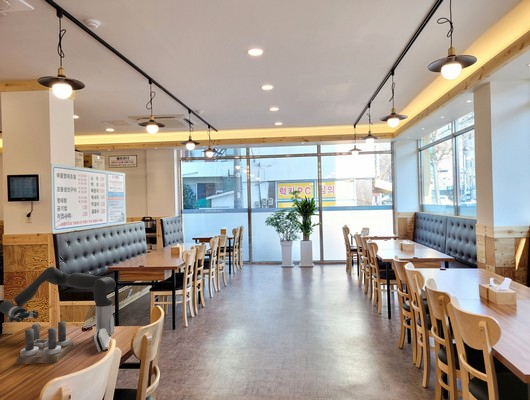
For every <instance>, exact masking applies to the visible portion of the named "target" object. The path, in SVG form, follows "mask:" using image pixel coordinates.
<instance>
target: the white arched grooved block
mask: <svg viewBox="0 0 530 400" xmlns="http://www.w3.org/2000/svg"><path fill="white" fill-rule="evenodd" d="M111 339H113V338H112V337H111V336H110V335H108V333H107V331H106V329H105V328H103V329H101V330H98V331H97V332H96V331H95V333H94V335H93V340H94V343H95V346H96V349H97V351H98V352H99V353H101V352H102V350H103V351H105V350H107V349H108V347H109V342H110V340H111Z"/></svg>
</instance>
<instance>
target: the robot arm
mask: <svg viewBox="0 0 530 400" xmlns="http://www.w3.org/2000/svg"><path fill="white" fill-rule="evenodd" d="M45 282H48V283H49V284H51V285H56V286H67V287H70V288H74V289H80V290H84V289H85V290H86V289H87V290H88V289H93V301H94V303H95V333H96V332H97V331H98V330H101V329H103V328H105V329H106V331H107V333H108V335H109V336H111V334H114V332H115V318H114V317H115V316H114V315H113V310H114V309H113V299H112V298H108V295H107V294H108V293H110V292H112V291H114V290H115V288H116V286H117V284H116V283H117V282H116V280H115V279H114V278H112V277H111V276H96V275H92V274H87V273H83V272H73V273H71V274H70V273H66V272H63V271H61V270H60V269H59V268H57V267H55V266H49V267H48V268H46V269H45V270H43V271H42V272H41V274H39V275H38V276H37V277H36V278H35V279H34V280H33V281H32V282H31V283H30V285H28V286H27V287H26V288H24V290H22V291H21V292H20V293H18V294H16V295H15V297H13V300H14V302H15V304H14V303H13V302H12V301H10V300H5V301H3V302H1V303H0V313H2V314H4V315H5V316H7V321H8V322H9V323H13V322H16V323H20V322H22V321H25V320H26V319H31V318H33V319H37V318H38V317H39V311H37V310H32V311H28V310H27V308H24V307H23V306H24V305H26V304H27V303H28V302H29V301H30V300H32V299H33V298H34V297H35V295H36V294H37V292H38V290H39V287H40V286H41V285H43V284H44V283H45Z"/></svg>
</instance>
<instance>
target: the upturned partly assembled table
mask: <svg viewBox="0 0 530 400" xmlns="http://www.w3.org/2000/svg"><path fill="white" fill-rule="evenodd" d="M66 324H67V322H66V320H65V321H63V320H62V321H59V322H57V327H50V328H48V329H47V338H40V339H37V340H35V341H34V329H32V328H27V329H25V330H24V338H25V340H24V348H22V349H21V350H20V354H19V356H17V357H16V358H15V359H16V360H15V361H16V362H15V364H16V365H28V364H29V365H30V364H44V363H46V364H47V363H48V364H49V363H58V362H59V361H60V360H61V359H62V358H64V356H66V355H68V353H69V352H71V351H72V349H73V348H74V341H71V338H70V337H67V325H66Z"/></svg>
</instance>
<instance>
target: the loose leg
mask: <svg viewBox="0 0 530 400" xmlns="http://www.w3.org/2000/svg"><path fill="white" fill-rule="evenodd" d="M31 329H34V341H35V340H37V339H41V338H40V337H41V335H40V323H34V324H32V325H31Z"/></svg>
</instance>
